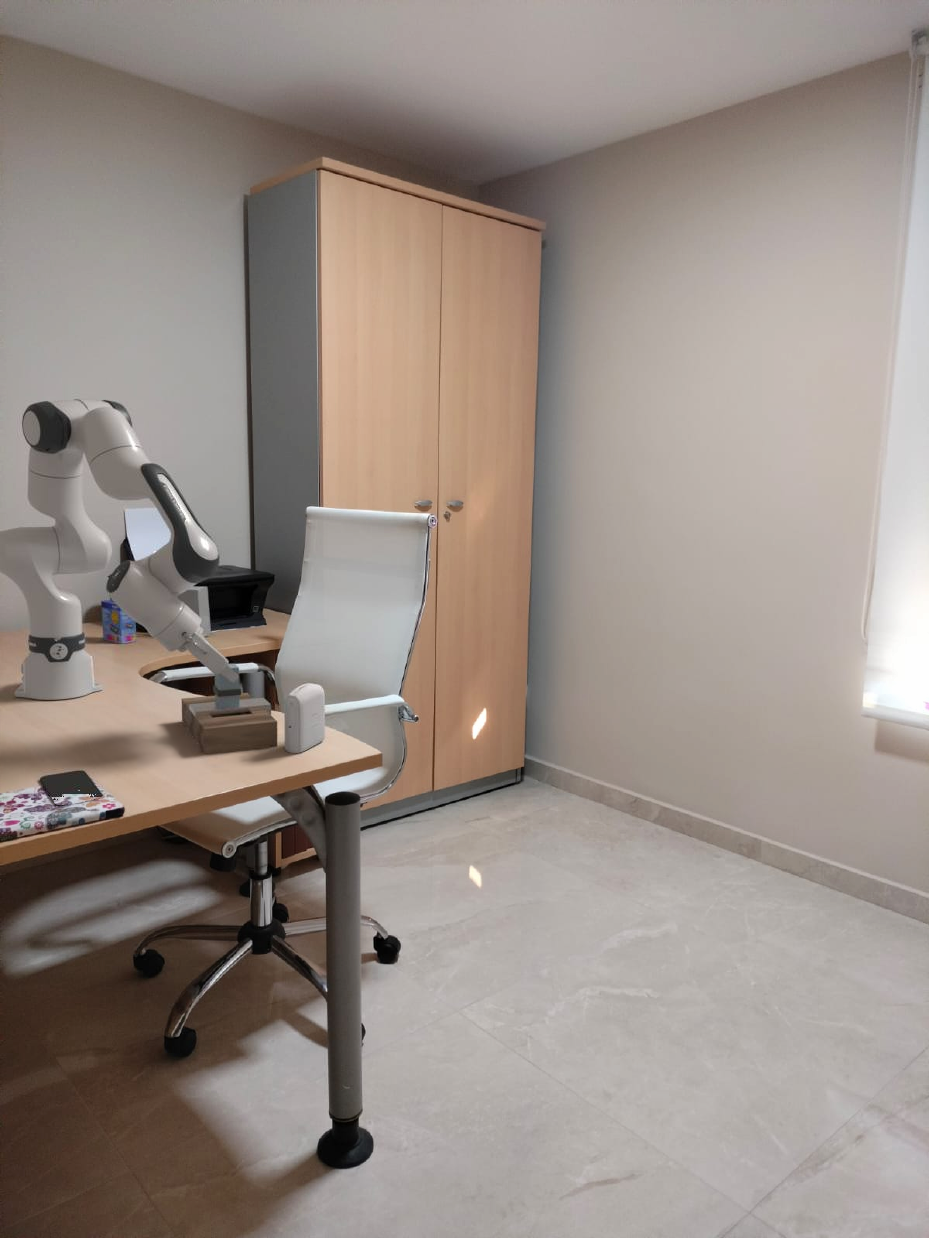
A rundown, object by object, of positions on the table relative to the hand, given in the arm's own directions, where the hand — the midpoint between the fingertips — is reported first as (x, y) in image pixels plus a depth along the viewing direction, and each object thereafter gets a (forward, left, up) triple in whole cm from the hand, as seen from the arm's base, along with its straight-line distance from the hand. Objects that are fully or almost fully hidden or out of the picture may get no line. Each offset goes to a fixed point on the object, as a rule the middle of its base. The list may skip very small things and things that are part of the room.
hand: (230, 674), depth 183 cm
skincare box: (-107, +12, -13) cm, 108 cm away
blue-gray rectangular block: (0, -1, -6) cm, 6 cm away
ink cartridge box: (-107, -10, -13) cm, 108 cm away
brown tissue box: (0, -1, -12) cm, 12 cm away
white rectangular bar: (0, 0, -10) cm, 10 cm away
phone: (+22, -32, -13) cm, 41 cm away
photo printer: (+14, +11, -13) cm, 22 cm away
